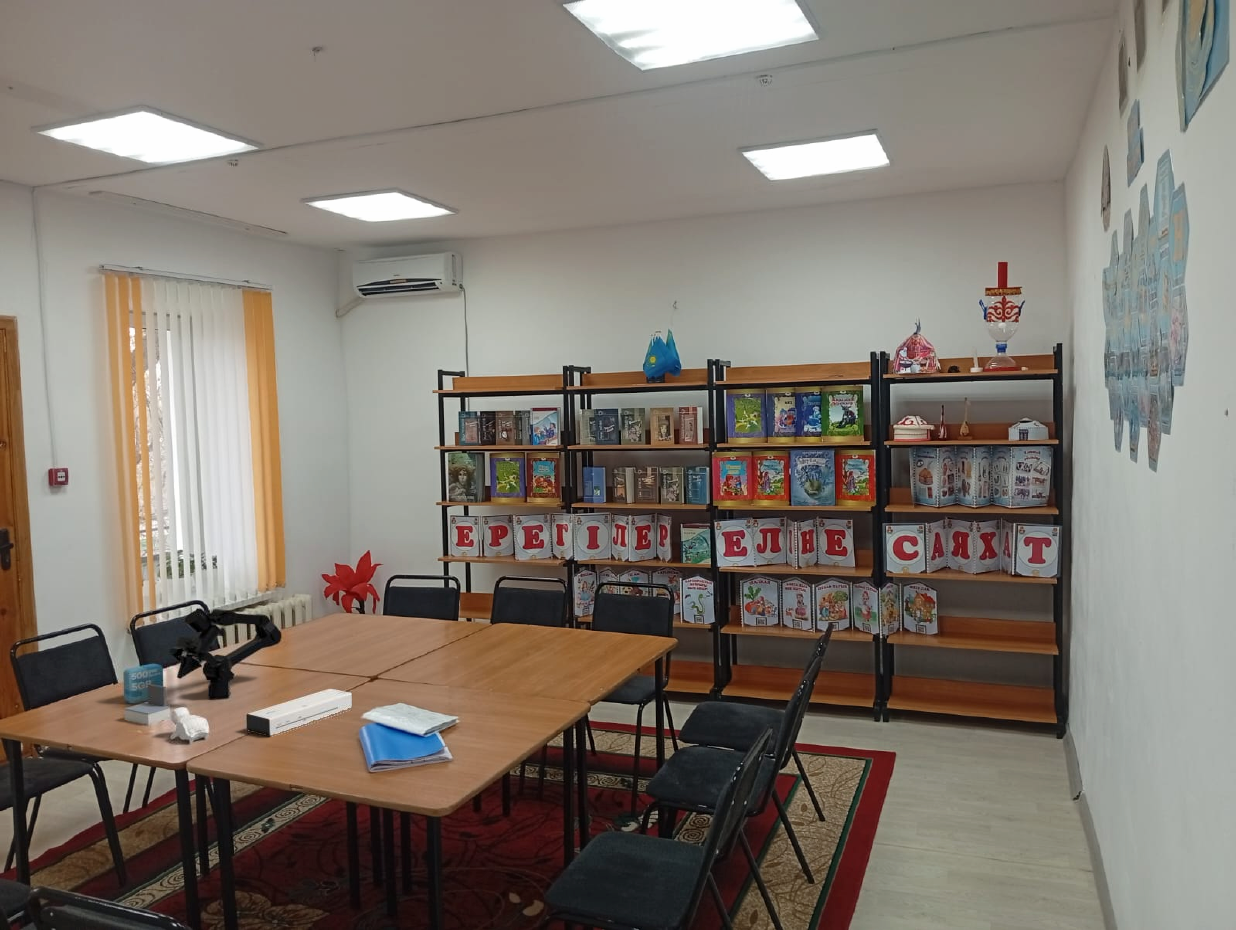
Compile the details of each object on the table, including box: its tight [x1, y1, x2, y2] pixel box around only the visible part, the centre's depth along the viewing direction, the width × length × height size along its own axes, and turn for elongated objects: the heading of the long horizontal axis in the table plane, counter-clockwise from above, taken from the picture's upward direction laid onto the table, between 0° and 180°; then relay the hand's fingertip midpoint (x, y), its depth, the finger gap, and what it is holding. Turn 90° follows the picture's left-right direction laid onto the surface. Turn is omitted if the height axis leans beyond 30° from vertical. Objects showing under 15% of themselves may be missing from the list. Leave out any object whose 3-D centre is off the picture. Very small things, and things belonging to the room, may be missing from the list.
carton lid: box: [124, 684, 171, 715], centre depth 305 cm, size 8×12×7 cm, turn 63°
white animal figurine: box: [169, 706, 210, 745], centre depth 287 cm, size 9×8×15 cm
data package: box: [122, 663, 164, 704], centre depth 328 cm, size 12×4×12 cm, turn 142°
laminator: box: [245, 688, 353, 737], centre depth 304 cm, size 34×12×6 cm, turn 149°
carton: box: [124, 707, 171, 726], centre depth 305 cm, size 8×12×4 cm, turn 63°
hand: (178, 677), depth 316 cm, fingers closed
